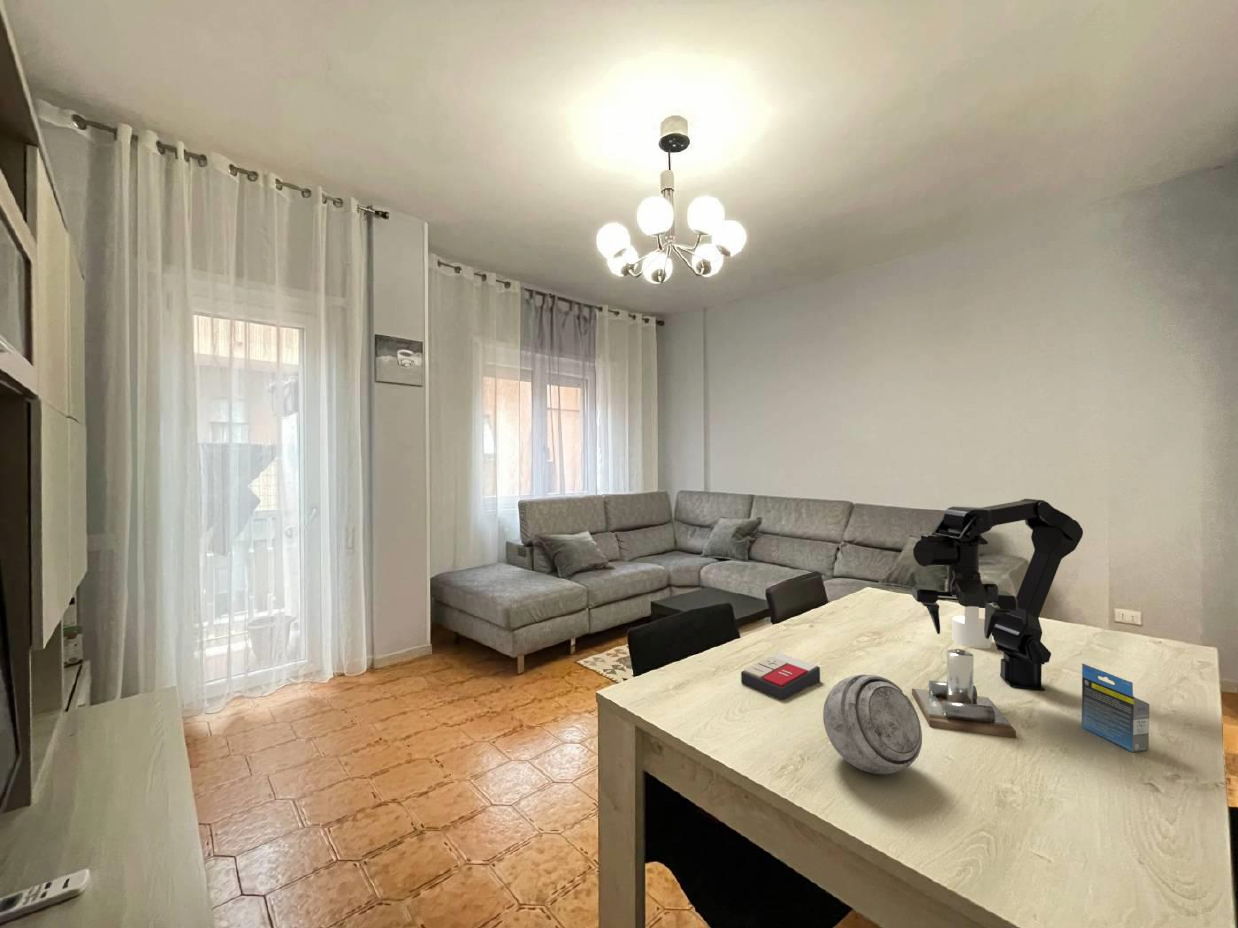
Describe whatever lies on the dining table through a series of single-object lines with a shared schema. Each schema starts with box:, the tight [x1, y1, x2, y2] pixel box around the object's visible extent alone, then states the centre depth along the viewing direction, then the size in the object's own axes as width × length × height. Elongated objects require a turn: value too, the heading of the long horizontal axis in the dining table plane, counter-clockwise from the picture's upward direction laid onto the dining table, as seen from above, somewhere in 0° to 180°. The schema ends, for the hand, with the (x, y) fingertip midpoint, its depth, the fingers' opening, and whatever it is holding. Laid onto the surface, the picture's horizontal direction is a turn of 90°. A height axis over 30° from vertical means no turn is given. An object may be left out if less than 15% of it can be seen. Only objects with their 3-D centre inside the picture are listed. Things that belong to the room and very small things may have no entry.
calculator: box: [740, 652, 821, 701], centre depth 120 cm, size 11×4×15 cm
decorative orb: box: [822, 674, 923, 775], centre depth 88 cm, size 15×14×15 cm
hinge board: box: [911, 688, 1017, 739], centre depth 105 cm, size 14×14×1 cm
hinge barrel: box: [946, 648, 974, 704], centre depth 105 cm, size 4×4×12 cm
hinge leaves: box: [914, 680, 1012, 727], centre depth 105 cm, size 13×12×3 cm
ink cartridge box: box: [1081, 663, 1150, 753], centre depth 96 cm, size 9×4×12 cm, turn 9°
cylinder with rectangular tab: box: [951, 606, 993, 650], centre depth 144 cm, size 9×9×12 cm
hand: (962, 635), depth 115 cm, fingers open, 9 cm apart
